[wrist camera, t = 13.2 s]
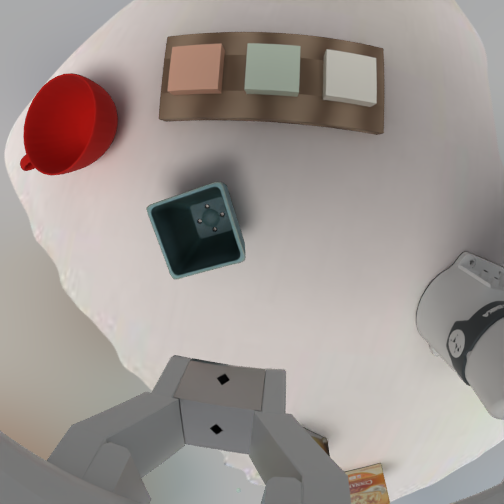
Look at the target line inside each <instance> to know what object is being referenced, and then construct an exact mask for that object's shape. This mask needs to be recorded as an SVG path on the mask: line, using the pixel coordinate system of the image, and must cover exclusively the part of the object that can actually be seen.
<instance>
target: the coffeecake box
mask: <svg viewBox="0 0 504 504" xmlns="http://www.w3.org/2000/svg"><path fill="white" fill-rule="evenodd" d="M345 473H346V474H347V475H348V481H349V489H350V497H351V504H390V501H389V496H388V492H387V487H386V483H385V479H384V475H383V471H382V467H381V463H379V464H376V465H372V466H368V467H364V468H360V469H356V470H352V471H347V472H345Z"/></svg>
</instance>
